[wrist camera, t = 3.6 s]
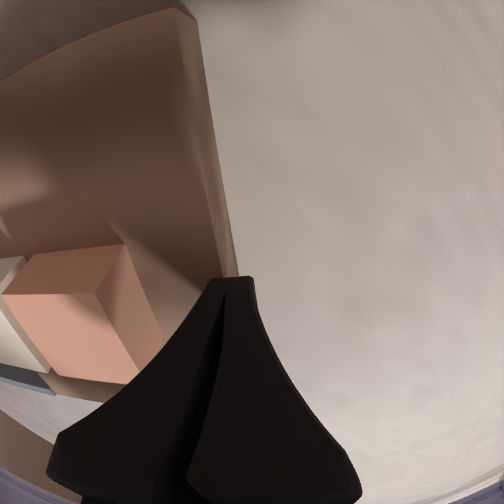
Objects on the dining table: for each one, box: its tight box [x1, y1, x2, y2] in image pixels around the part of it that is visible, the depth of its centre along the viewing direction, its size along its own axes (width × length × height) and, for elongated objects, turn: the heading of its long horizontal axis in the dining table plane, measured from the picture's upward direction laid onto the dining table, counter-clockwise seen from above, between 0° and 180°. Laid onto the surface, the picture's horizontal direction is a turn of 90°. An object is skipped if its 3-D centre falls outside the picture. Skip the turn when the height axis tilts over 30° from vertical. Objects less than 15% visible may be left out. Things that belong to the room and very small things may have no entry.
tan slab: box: [0, 7, 239, 403], centre depth 13 cm, size 18×14×3 cm
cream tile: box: [0, 256, 51, 373], centre depth 11 cm, size 4×4×2 cm
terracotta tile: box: [1, 244, 163, 384], centre depth 10 cm, size 4×4×2 cm
